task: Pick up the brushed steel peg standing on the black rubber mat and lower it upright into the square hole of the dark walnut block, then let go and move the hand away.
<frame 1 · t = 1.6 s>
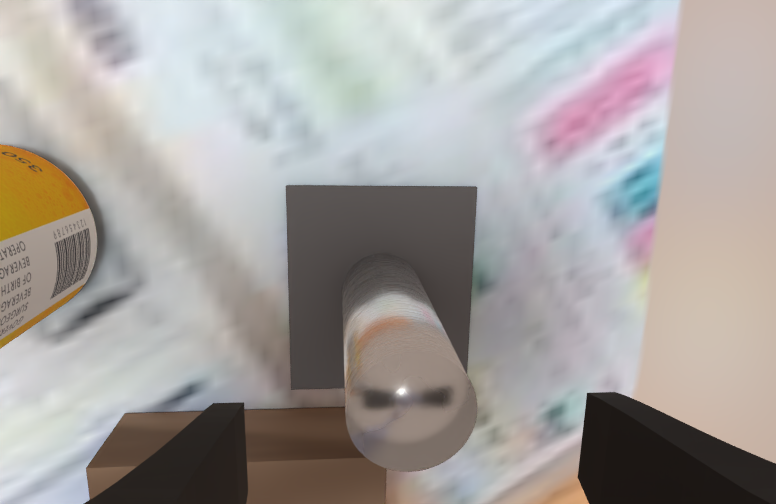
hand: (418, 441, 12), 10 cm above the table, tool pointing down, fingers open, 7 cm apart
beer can: (20, 228, 20), on the table
steel peg: (381, 291, 21), resting on rubber mat
rubber mat: (380, 289, 22), on the table
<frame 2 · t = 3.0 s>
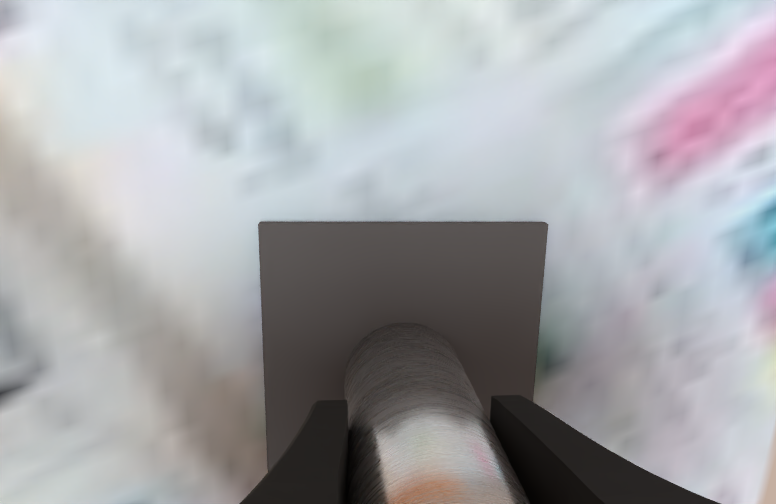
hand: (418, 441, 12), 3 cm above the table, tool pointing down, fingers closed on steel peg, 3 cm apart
steel peg: (402, 377, 14), resting on rubber mat, touching gripper
rubber mat: (401, 372, 15), on the table
when the fingers open (5 cm above the table, at t = 6.2 s): steel peg drops 2 cm, resting in walnut block.
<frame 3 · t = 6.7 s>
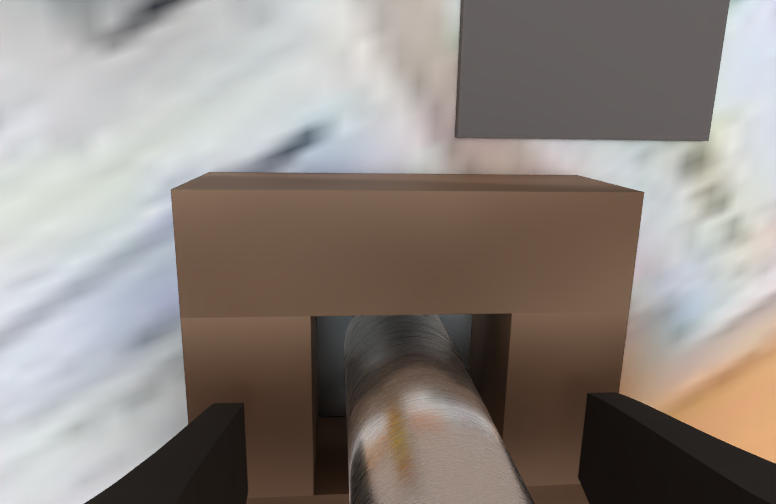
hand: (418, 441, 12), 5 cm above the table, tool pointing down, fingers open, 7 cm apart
steel peg: (395, 343, 16), resting in walnut block
walnut block: (394, 345, 16), on the table
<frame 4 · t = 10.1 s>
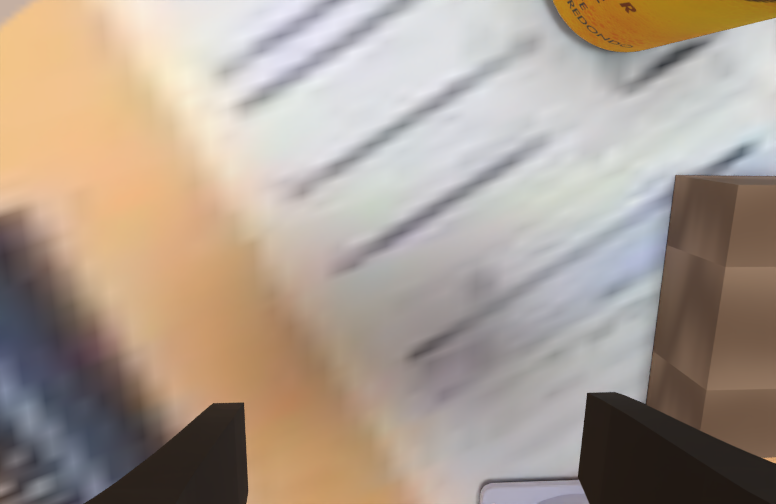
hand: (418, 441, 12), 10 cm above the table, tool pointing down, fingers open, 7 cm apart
walnut block: (775, 298, 23), on the table
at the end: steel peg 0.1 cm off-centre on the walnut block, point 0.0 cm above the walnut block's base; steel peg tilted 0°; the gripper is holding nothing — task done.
